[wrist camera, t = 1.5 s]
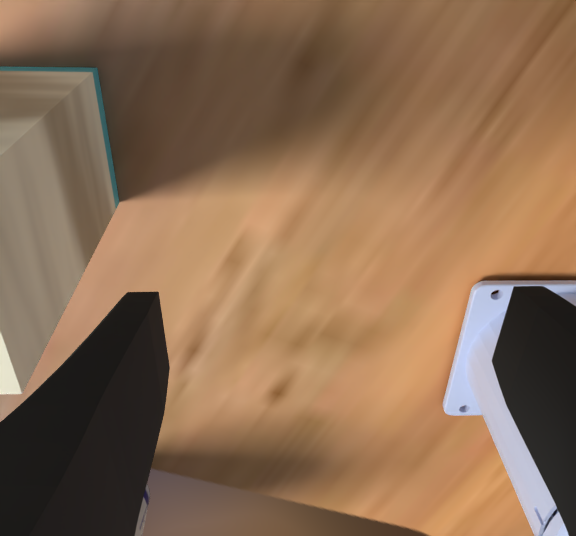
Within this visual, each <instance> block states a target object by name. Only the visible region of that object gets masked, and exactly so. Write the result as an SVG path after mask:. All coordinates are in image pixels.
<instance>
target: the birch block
mask: <svg viewBox="0 0 576 536" xmlns="http://www.w3.org/2000/svg"><path fill="white" fill-rule="evenodd" d="M118 204H119V197H118V190H117V184H116V178H115V172H114V166H113V160H112V154H111V148H110V142H109V136H108V130H107V124H106V118H105V112H104V105H103V99H102V93H101V87H100V81H99V75H98V69H97V68H86V67H8V66H0V394H22V393H23V391H24V389H25V387H26V385H27V383H28V381H29V379H30V377H31V376H32V374H33V372H34V370H35V368H36V366H37V364H38V362H39V360H40V358H41V356H42V354H43V352H44V350H45V348H46V346H47V344H48V342H49V340H50V338H51V336H52V334H53V332H54V330H55V328H56V326H57V324H58V322H59V320H60V318H61V316H62V314H63V312H64V310H65V309H66V307H67V305H68V303H69V301H70V299H71V297H72V295H73V293H74V291H75V289H76V287H77V285H78V283H79V281H80V279H81V277H82V275H83V273H84V271H85V269H86V267H87V265H88V263H89V261H90V259H91V257H92V255H93V253H94V251H95V249H96V247H97V245H98V244H99V242H100V240H101V238H102V236H103V234H104V232H105V230H106V228H107V226H108V224H109V222H110V220H111V218H112V216H113V214H114V212H115V210H116V208H117V206H118Z"/></svg>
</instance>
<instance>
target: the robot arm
mask: <svg viewBox="0 0 576 536" xmlns="http://www.w3.org/2000/svg"><path fill="white" fill-rule="evenodd" d="M495 290H499V291H498V292H497V293H496V294H491V293H492V292H493V291H495ZM169 368H170V367H169V360H168V353H167V347H166V340H165V333H164V326H163V319H162V313H161V306H160V299H159V292H127V293H126V294H125V295H124V296H123V297H122V298H121V300H120V301H119V302H118V303H117V304H116V305H115V306H114V308H113V309H112V310H111V311H110V312H109V313H108V315H107V316H106V317H105V318H104V319H103V320H102V321H101V323H100V324H99V325H98V326H97V327H96V328H95V329H94V331H93V332H92V333H91V334H90V335H89V336H88V337H87V338H86V340H85V341H84V342H83V343H82V344H81V345H80V346H79V347H78V348H77V349H76V350H75V351H74V352H73V353H72V355H71V356H70V357H69V358H68V359H67V360H66V361H65V362H64V363H63V364H62V365H61V366H60V367H59V368H58V369H57V370H56V371H55V372H54V373H53V374H52V375H51V376H50V377H49V378H48V379H47V380H46V381H45V382H44V383H43V384H42V385H41V386H40V387H39V388H38V389H37V390H36V391H35V392H34V393H33V394H32V395H31V396H29V397H28V398H27V399H26V400H25V401H24V402H23V403H22V404H21V405H20V406H18V407H17V408H16V409H15V410H14V411H13V412H12V413H11V414H9V415H8V416H7V417H6V418H5V419H4V420H2V421H1V422H0V536H135V532H136V527H137V522H138V517H139V513H140V509H141V505H142V501H143V497H144V493H145V489H146V485H147V481H148V477H149V473H150V469H151V465H152V461H153V457H154V453H155V449H156V445H157V441H158V436H159V432H160V428H161V424H162V420H163V416H164V410H165V402H166V395H167V386H168V377H169ZM464 405H465V406H464ZM461 406H462V407H461ZM443 409H444V411H445V413H446V414H448V415H483V417H484V420H485V422H486V424H487V427H488V429H489V431H490V433H491V436H492V438H493V440H494V443H495V445H496V447H497V450H498V452H499V454H500V457H501V459H502V461H503V464H504V466H505V468H506V471H507V473H508V475H509V478H510V480H511V482H512V484H513V487H514V489H515V491H516V494H517V496H518V498H519V501H520V503H521V505H522V508H523V510H524V512H525V515H526V517H527V519H528V522H529V524H530V526H531V529H532V531H533V533H534V536H576V280H552V281H480V282H478V283H476V284H475V285H474V286H473V288H472V290H471V293H470V297H469V301H468V305H467V309H466V313H465V317H464V321H463V325H462V329H461V333H460V337H459V341H458V345H457V349H456V353H455V357H454V361H453V365H452V369H451V373H450V377H449V381H448V385H447V389H446V393H445V397H444V401H443Z"/></svg>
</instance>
